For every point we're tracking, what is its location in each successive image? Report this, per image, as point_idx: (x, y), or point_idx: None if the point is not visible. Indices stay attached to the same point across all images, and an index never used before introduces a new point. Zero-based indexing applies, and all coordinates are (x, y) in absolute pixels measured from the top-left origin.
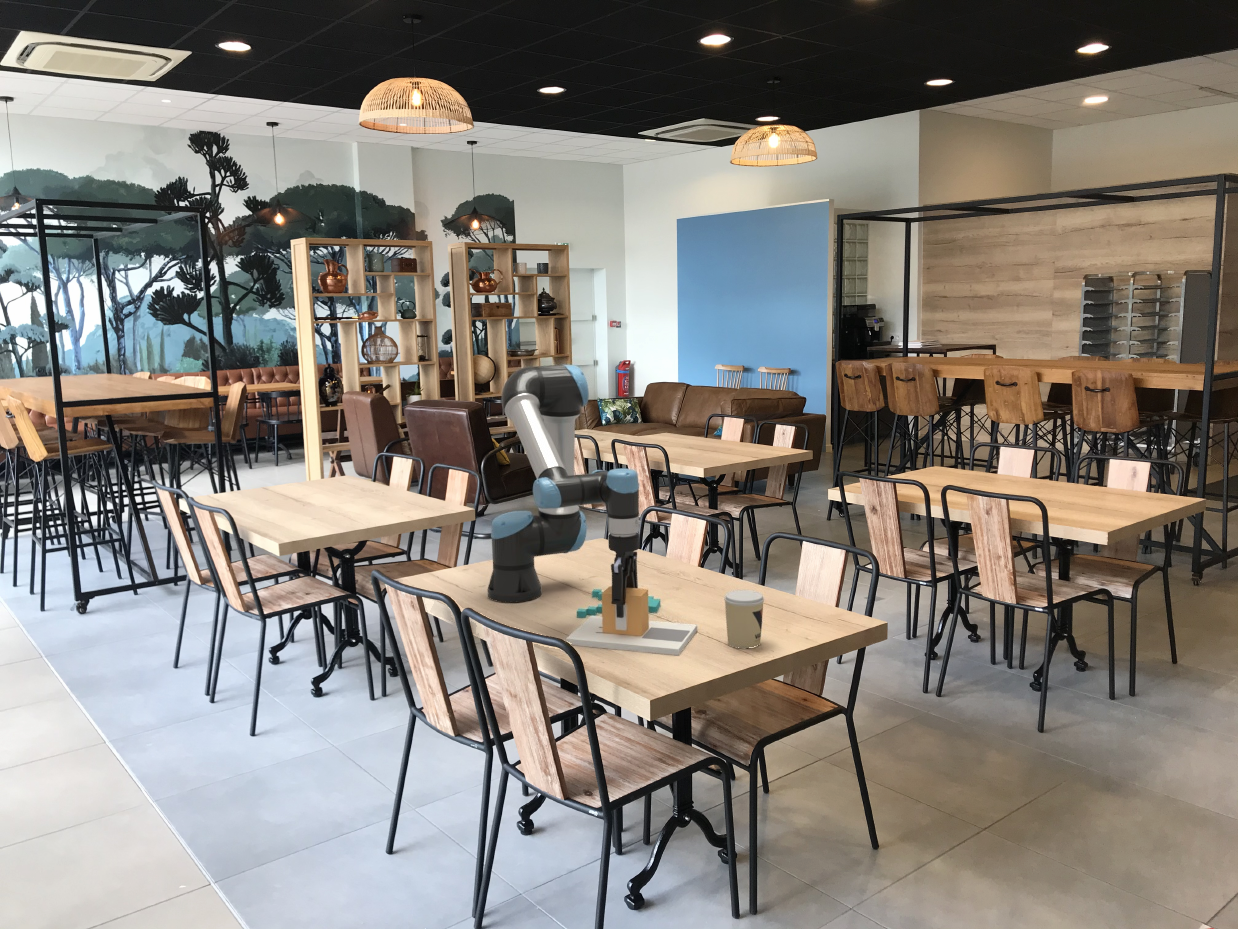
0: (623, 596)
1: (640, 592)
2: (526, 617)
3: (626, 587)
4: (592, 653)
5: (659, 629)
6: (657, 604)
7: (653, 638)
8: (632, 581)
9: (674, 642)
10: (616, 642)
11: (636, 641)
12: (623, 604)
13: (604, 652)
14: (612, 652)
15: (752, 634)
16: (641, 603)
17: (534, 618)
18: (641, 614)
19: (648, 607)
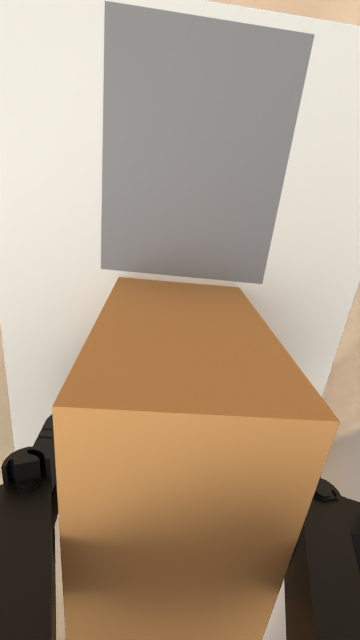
0: (349, 548)
1: (202, 453)
2: (59, 633)
3: (54, 579)
4: (355, 422)
5: (123, 218)
6: None
7: (265, 224)
8: (51, 630)
9: (323, 87)
10: (320, 373)
11: (307, 297)
12: (327, 485)
13: (347, 389)
14: (348, 364)
15: None
16: (298, 374)
17: (60, 619)
18: (272, 332)
19: (97, 318)
